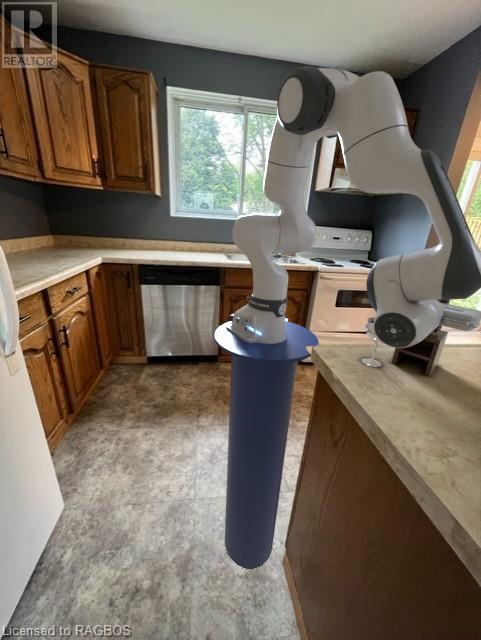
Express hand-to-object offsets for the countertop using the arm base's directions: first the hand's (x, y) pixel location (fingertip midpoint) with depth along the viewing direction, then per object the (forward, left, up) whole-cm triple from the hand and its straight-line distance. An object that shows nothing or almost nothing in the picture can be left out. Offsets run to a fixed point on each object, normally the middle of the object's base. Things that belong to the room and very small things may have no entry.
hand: (433, 304), depth 69 cm
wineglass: (-8, -10, -17) cm, 22 cm away
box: (0, -1, -7) cm, 7 cm away
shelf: (0, -1, -17) cm, 17 cm away
